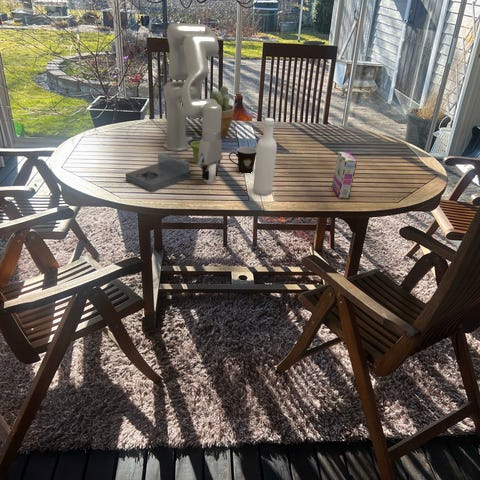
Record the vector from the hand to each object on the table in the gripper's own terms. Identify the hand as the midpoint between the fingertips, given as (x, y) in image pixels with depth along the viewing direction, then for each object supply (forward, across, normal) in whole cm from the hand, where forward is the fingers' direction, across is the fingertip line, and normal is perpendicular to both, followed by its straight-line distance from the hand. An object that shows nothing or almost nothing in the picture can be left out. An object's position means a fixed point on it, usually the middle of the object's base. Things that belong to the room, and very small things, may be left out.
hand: (209, 177), depth 193 cm
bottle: (+2, -8, +22) cm, 24 cm away
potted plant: (+2, -50, -40) cm, 64 cm away
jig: (+2, +14, -16) cm, 21 cm away
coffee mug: (+2, -20, +2) cm, 20 cm away
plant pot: (+2, -14, -18) cm, 23 cm away
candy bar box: (+2, -31, +46) cm, 56 cm away
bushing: (+2, 0, 0) cm, 2 cm away
